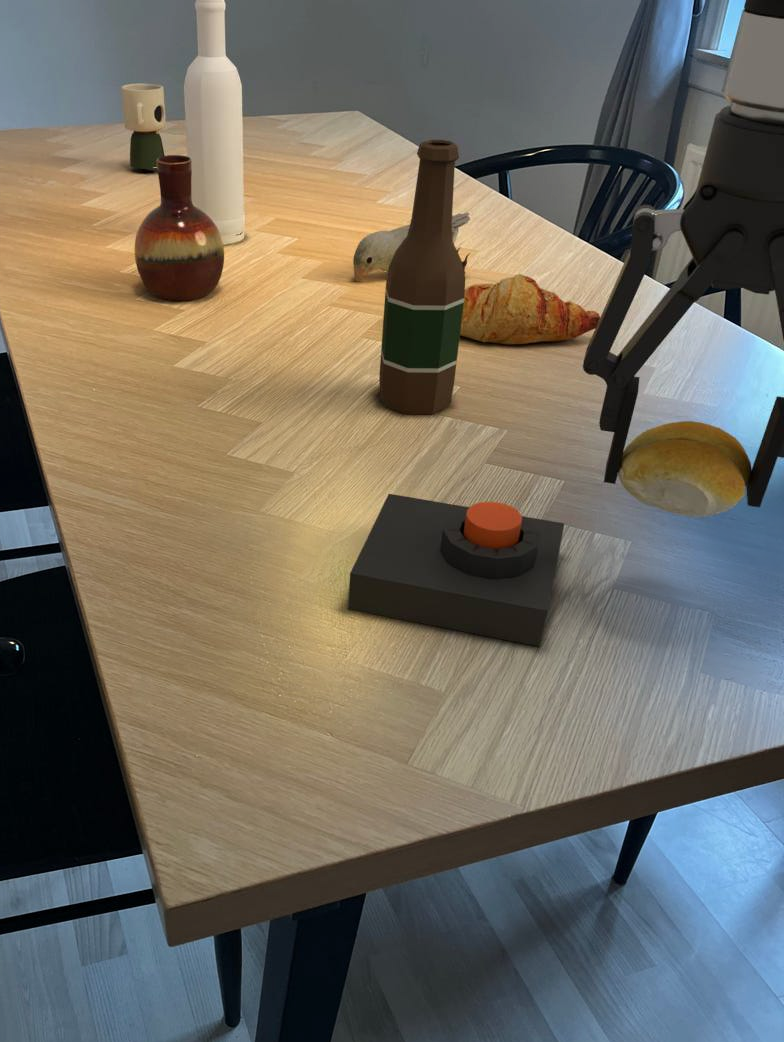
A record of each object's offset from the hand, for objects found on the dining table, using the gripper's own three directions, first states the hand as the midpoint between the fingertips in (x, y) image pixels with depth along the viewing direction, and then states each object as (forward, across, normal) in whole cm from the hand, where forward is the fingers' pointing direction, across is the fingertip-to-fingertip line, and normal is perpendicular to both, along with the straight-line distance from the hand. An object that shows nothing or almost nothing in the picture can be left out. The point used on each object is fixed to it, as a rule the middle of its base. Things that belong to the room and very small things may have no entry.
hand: (680, 485), depth 66 cm
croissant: (+11, +18, -52) cm, 56 cm away
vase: (+11, +59, -52) cm, 79 cm away
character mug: (+11, +89, -108) cm, 140 cm away
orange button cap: (+6, +12, +1) cm, 13 cm away
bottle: (+11, +63, -75) cm, 98 cm away
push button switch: (+10, +14, +1) cm, 17 cm away
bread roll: (0, 0, 0) cm, 0 cm away
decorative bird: (+11, +33, -68) cm, 76 cm away
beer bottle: (+11, +24, -30) cm, 40 cm away
